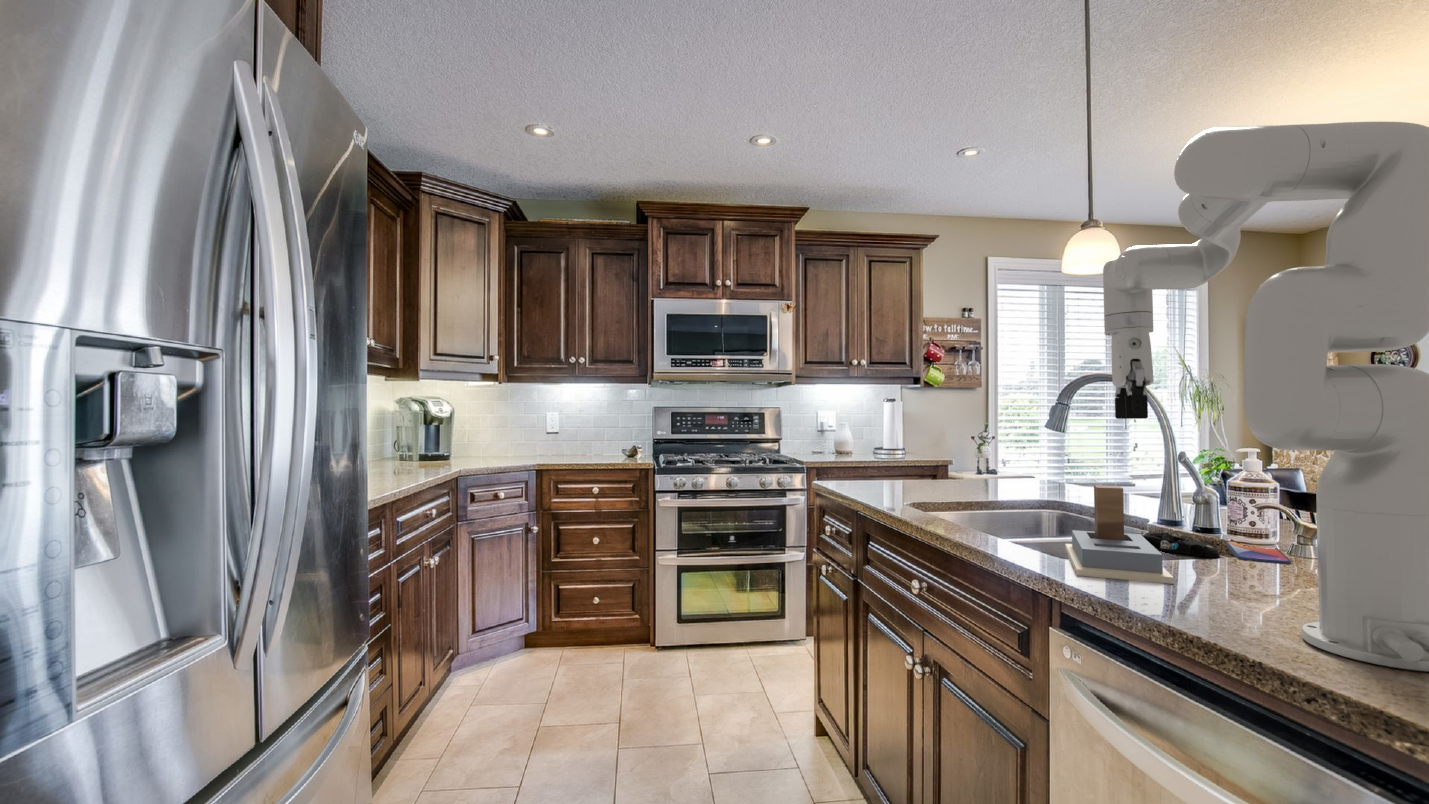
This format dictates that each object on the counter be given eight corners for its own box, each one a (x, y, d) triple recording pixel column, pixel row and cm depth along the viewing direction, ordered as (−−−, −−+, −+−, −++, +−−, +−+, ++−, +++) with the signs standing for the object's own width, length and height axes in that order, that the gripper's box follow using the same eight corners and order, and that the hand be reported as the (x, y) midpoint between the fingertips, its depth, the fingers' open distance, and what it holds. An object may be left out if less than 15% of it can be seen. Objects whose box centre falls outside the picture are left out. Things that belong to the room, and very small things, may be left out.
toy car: (1223, 561, 113) (1222, 537, 113) (1142, 554, 119) (1141, 531, 120) (1215, 552, 121) (1214, 529, 121) (1139, 545, 127) (1139, 524, 127)
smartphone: (1237, 562, 113) (1237, 556, 113) (1224, 545, 126) (1224, 540, 126) (1293, 567, 110) (1292, 561, 110) (1273, 550, 122) (1273, 544, 122)
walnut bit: (1124, 556, 112) (1123, 488, 112) (1098, 554, 113) (1096, 487, 114) (1120, 551, 115) (1119, 485, 116) (1095, 550, 117) (1093, 485, 117)
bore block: (1173, 583, 98) (1173, 557, 98) (1076, 575, 103) (1076, 550, 103) (1145, 554, 118) (1144, 532, 118) (1065, 548, 123) (1065, 528, 123)
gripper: (1165, 316, 107) (1168, 418, 106) (1141, 330, 123) (1144, 418, 122) (1113, 319, 110) (1115, 418, 109) (1097, 332, 126) (1099, 418, 125)
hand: (1130, 418), depth 116 cm, fingers open, 9 cm apart
